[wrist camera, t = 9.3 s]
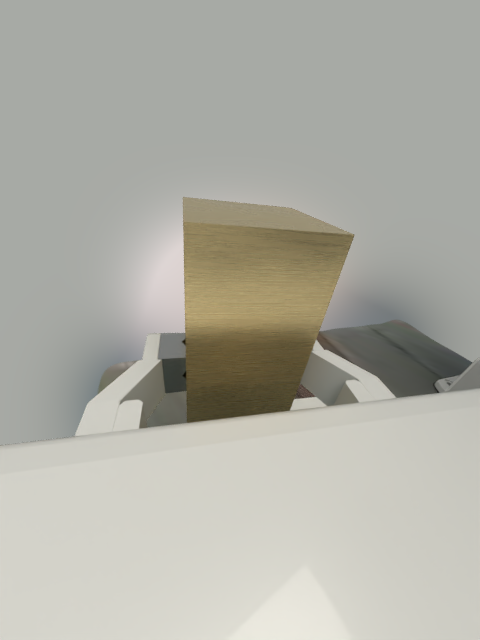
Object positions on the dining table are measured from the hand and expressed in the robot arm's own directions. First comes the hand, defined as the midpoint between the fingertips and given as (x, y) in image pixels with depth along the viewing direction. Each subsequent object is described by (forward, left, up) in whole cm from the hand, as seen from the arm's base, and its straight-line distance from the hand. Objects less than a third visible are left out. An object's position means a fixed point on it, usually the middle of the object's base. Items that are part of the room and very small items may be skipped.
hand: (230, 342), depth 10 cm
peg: (0, +1, -8) cm, 8 cm away
